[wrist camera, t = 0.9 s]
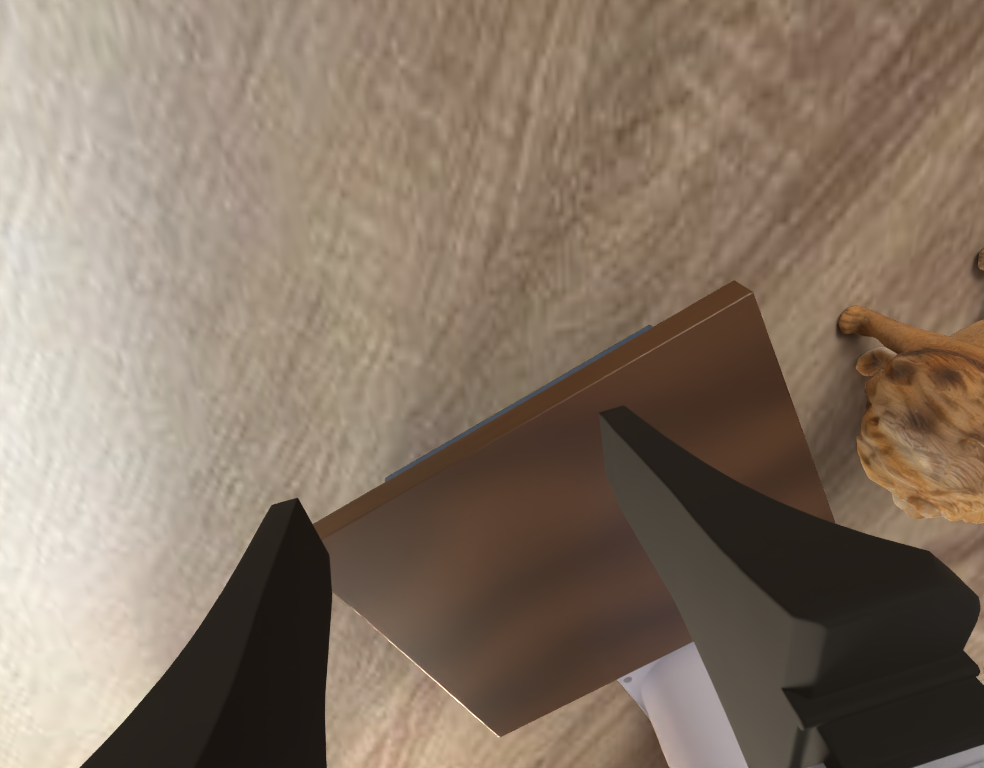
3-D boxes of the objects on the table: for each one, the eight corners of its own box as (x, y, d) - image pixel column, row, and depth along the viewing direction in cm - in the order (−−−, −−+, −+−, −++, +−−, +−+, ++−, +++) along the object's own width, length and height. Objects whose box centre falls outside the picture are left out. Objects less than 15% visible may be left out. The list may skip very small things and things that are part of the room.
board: (832, 545, 27) (850, 564, 26) (495, 714, 29) (499, 738, 28) (734, 279, 19) (753, 291, 18) (296, 532, 22) (291, 556, 21)
